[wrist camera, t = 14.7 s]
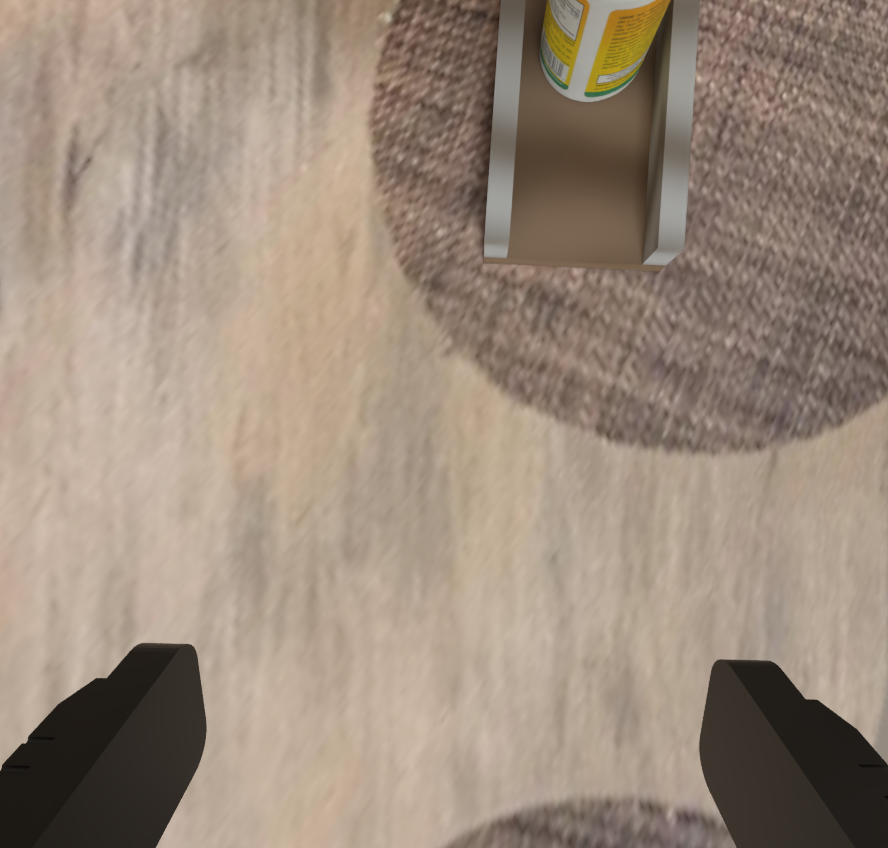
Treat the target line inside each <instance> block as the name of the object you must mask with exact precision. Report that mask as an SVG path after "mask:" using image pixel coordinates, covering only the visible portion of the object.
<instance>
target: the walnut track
mask: <svg viewBox="0 0 888 848" xmlns="http://www.w3.org/2000/svg"><path fill="white" fill-rule="evenodd" d="M546 5H547V0H501V4H500V19H499V33H498V48H497V62H496V77H495V91H494V106H493V120H492V135H491V149H490V164H489V179H488V193H487V208H486V222H485V237H484V263H496V264H517V265H538V266H559V267H579V268H600V269H621V270H642V271H660V270H662V269H663V268H664V267H665V266H666V265H667V264H668V263H669V262H670V261H671V260H673V259H674V258H675V257H676V256H677V255H678V254H679V253H680V252H681V251H682V250H684V242H685V226H686V210H687V194H688V179H689V163H690V147H691V131H692V116H693V100H694V84H695V68H696V53H697V37H698V21H699V5H700V0H671V1H670V3H669V5H668V7H667V9H666V12H665V14H664V16H663V18H662V20H661V22H660V25H659V27H658V29H657V31H656V34H655V36H654V38H653V40H652V43H651V45H650V47H649V49H648V51H647V54H646V56H645V58H644V61H643V63H642V65H641V67H640V69H639V71H638V73H637V74H636V76H635V77H634V79H633V80H632V81H631V82H630V84H629V85H628V86H627V87H626V88H624V89H623V90H622V91H620V92H619V93H617V94H616V95H613V96H611V97H609V98H606V99H603V100H600V101H594V102H581V101H576V100H572V99H569V98H567V97H565V96H563V95H562V94H560V93H559V92H558V91H556V90H555V89H554V88H553V87H552V85H551V84H550V83H549V82H548V80H547V79H546V77H545V75H544V72H543V70H542V67H541V62H540V41H541V35H542V29H543V23H544V17H545V11H546Z"/></svg>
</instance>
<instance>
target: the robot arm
mask: <svg viewBox="0 0 888 848" xmlns="http://www.w3.org/2000/svg"><path fill="white" fill-rule="evenodd" d="M205 740H206V716H205V709H204V702H203V694H202V687H201V680H200V672H199V665H198V658H197V653H196V650H195V648H194V647H193V646H192V645H190V644H163V643H141V644H138V645H137V646H135V647H134V648H133V649H132V650H131V651H130V652H129V653H128V654H127V656H126V657H125V658H124V659H123V660H122V661H121V662H120V664H119V665H118V666H117V667H116V668H115V669H114V671H113V672H112V673H111V674H110V675H109V676H108V677H107V678H96V679H95V680H93V681H92V682H90V683H89V684H87V685H86V686H84V687H83V688H81V689H80V690H78V691H77V692H76V693H74V694H73V695H71V696H70V697H68V698H67V699H65V700H64V701H62V702H61V703H60V704H58V705H57V706H56V707H55V708H54V710H53V711H52V712H51V713H50V714H49V715H48V716H47V717H46V718H45V719H44V720H43V721H42V722H41V724H40V725H39V726H38V727H37V728H36V729H35V730H34V731H33V732H32V733H31V734H30V735H29V737H28V741H27V743H26V744H21V745H20V746H19V747H18V748H17V749H16V751H15V752H14V753H13V754H12V755H11V756H10V757H9V758H8V759H7V760H6V761H5V762H4V764H3V765H2V769H1V771H0V848H156V846H157V844H158V842H159V840H160V838H161V836H162V835H163V833H164V831H165V829H166V827H167V825H168V823H169V821H170V819H171V818H172V816H173V814H174V812H175V810H176V808H177V806H178V804H179V802H180V800H181V799H182V797H183V795H184V793H185V791H186V789H187V787H188V785H189V783H190V781H191V780H192V778H193V776H194V774H195V772H196V770H197V768H198V765H199V763H200V760H201V757H202V754H203V750H204V745H205ZM699 750H700V760H701V766H702V770H703V774H704V778H705V781H706V783H707V786H708V788H709V791H710V793H711V795H712V797H713V799H714V801H715V803H716V805H717V807H718V809H719V812H720V814H721V816H722V818H723V820H724V822H725V824H726V826H727V828H728V830H729V832H730V834H731V837H732V839H733V841H734V843H735V845H736V847H737V848H888V765H887V764H886V762H885V761H884V760H883V759H882V758H881V757H880V755H879V754H878V753H877V752H876V751H875V750H874V748H873V747H872V746H871V745H870V744H869V743H868V742H867V740H866V739H865V738H864V737H863V736H862V735H861V733H860V732H859V731H858V730H857V729H856V728H854V727H853V726H852V725H850V724H849V723H848V722H846V721H845V720H844V719H842V718H841V717H840V716H838V715H837V714H836V713H834V712H833V711H831V710H830V709H829V708H827V707H826V706H825V705H823V704H822V703H821V702H819V701H818V700H807V699H805V698H804V697H803V696H802V694H801V693H800V692H799V691H798V689H797V688H796V687H795V686H794V684H793V683H792V682H791V681H790V679H789V678H788V677H787V676H786V675H785V673H784V672H783V671H782V670H781V668H780V667H779V666H778V665H776V664H775V663H774V662H771V661H760V660H721V659H720V660H717V661H716V662H715V663H714V665H713V667H712V670H711V675H710V681H709V687H708V693H707V699H706V705H705V711H704V716H703V722H702V728H701V734H700V742H699Z"/></svg>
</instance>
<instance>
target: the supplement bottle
mask: <svg viewBox="0 0 888 848" xmlns="http://www.w3.org/2000/svg"><path fill="white" fill-rule="evenodd" d="M670 1H671V0H547V5H546V11H545V17H544V23H543V29H542V35H541V41H540V62H541V67H542V70H543V72H544V75H545V77H546V79H547V80H548V82H549V83H550V84H551V85H552V87H553V88H554V89H555V90H556V91H558V92H559V93H560V94H562V95H563V96H565V97H567V98H569V99H572V100H576V101H581V102H594V101H600V100H603V99H606V98H609V97H611V96H613V95H616V94H617V93H619V92H620V91H622V90H623V89H624V88H626V87H627V86H628V85H629V84H630V82H631V81H632V80H633V79H634V77H635V76H636V74H637V73H638V71H639V69H640V67H641V65H642V63H643V61H644V58H645V56H646V54H647V51H648V49H649V47H650V45H651V43H652V40H653V38H654V36H655V34H656V31H657V29H658V27H659V25H660V22H661V20H662V18H663V16H664V14H665V12H666V9H667V7H668V5H669V3H670Z"/></svg>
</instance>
